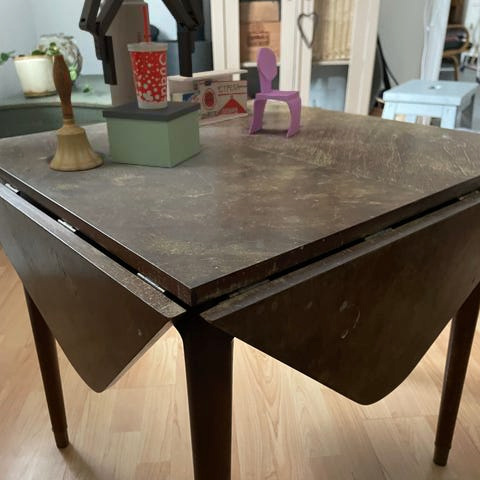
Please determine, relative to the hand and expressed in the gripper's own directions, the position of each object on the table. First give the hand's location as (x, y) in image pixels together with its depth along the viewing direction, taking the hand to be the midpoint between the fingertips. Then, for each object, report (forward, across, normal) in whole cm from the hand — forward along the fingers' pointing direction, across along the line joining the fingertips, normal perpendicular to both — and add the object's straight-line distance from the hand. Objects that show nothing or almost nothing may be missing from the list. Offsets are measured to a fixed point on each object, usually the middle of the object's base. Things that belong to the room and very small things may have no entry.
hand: (150, 80), depth 85 cm
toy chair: (+12, +27, +1) cm, 30 cm away
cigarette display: (+12, +26, +20) cm, 35 cm away
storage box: (+12, 0, 0) cm, 12 cm away
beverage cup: (+4, 0, 0) cm, 4 cm away
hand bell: (+12, -12, +4) cm, 18 cm away
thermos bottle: (+12, +3, +12) cm, 17 cm away
